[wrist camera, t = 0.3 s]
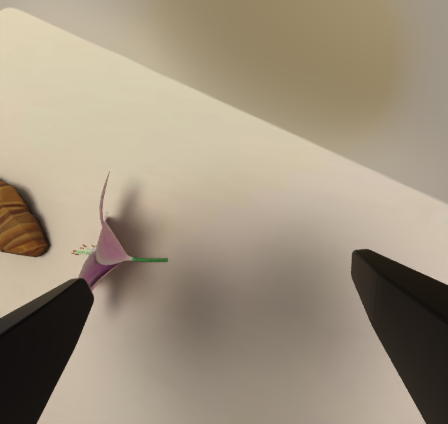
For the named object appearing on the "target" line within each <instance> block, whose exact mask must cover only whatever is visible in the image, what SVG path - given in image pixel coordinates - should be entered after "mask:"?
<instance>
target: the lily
mask: <svg viewBox="0 0 448 424" xmlns="http://www.w3.org/2000/svg"><path fill="white" fill-rule="evenodd" d="M109 173H110V172H109ZM108 177H109V174H108V176H107V179H106V182H105V185H104V188H103V191H102V195H101V200H100V220H101V224H102V230H101V233H100V236H99V240H98V244H97V245H96V246H93V245H91V246H93V249H92V251H90V250H91V249H89V248H87V246H85V245H83V246H84V247H85V248H87V249H89V250H86V249H84V248H80V249H83V250H86V251H90V252H83V251H76V250H73V252H79V253H72V254H75V255H79V254H80V253H87V254H83V255H89V257H88V258H87V260H86V261H85V263H84V265H83V267H82V270H81V272H80V274H79V277H78V278H84V279H85V280H86V281H87V283H88V285H89V287H90V289H91V291H93V289H94V288H95V286H96V285H97V284H98V283H99V282H100V280H101V279H102V278H104V277H105V276H106V275H107V274H108V273H109V272H110V271H111V270H113V269H114V268H115V267H117V266H118V265H119V264H121V263H122V262H124V261H127V260H129V261H142V262H167V261H168V259H146V258H136V257H130V256H129V255H127V254H126V252H125V251H124V249H123V248H122V246H121V244H120V243H119V241H118V240H117V238H116V237H115V235H114V233H113V232H112V230H111V229H110V227H109V226H108V224H107V222H106V220H107V214H108V212H106V213H105V222H104V221H103V213H102V207H103V198H104V194H105V189H106V185H107V181H108Z"/></svg>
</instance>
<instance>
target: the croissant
mask: <svg viewBox="0 0 448 424" xmlns="http://www.w3.org/2000/svg"><path fill="white" fill-rule="evenodd" d="M48 247H49V244H48V241H47V237H46V234H45V232H44V230H43V228H42V226H41V224H40V222H39V220H38V219H37V218H35V217H34V216H33V215H32V213H31V210H30V208H29V207H28V205H27V204H26V202H25V201H24V199H23V198H22V197H21V196H20V194H19V193H18V192H17V191H16V190H15V189H14V188H13V187H12V186H11V185H9V184H7V183H5V182H3V181H0V251H1V252H5V253H11V254H17V255H24V256H31V257H38V256H41V255H43V254H44V253H45V252H46V251H47V249H48Z"/></svg>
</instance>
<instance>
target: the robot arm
mask: <svg viewBox="0 0 448 424" xmlns="http://www.w3.org/2000/svg"><path fill="white" fill-rule="evenodd" d="M351 276H352V279H353V282H354V284H355V287H356V289H357V291H358V294H359V296H360V299H361V301H362V303H363V306H364V308H365V311H366V313H367V315H368V318H369V320H370V322H371V324H372V327H373V328H374V330H375V332H376V334H377V336H378V338H379V340H380V341H381V343H382V345H383V347H384V349H385V350H386V352H387V354H388V356H389V358H390V359H391V361H392V363H393V365H394V367H395V368H396V370H397V372H398V374H399V376H400V377H401V379H402V381H403V383H404V385H405V386H406V388H407V390H408V392H409V394H410V395H411V397H412V399H413V401H414V403H415V404H416V406H417V408H418V410H419V412H420V413H421V415H422V417H423V419H424V421H425V422H426V424H448V285H446V284H444V283H442V282H440V281H438V280H435V279H433V278H431V277H429V276H426V275H424V274H422V273H420V272H418V271H415V270H413V269H411V268H409V267H407V266H404V265H402V264H400V263H398V262H396V261H393V260H391V259H389V258H387V257H385V256H382V255H380V254H378V253H376V252H373V251H371V250H369V249H360V250H354V251H353V253H352V263H351ZM93 302H94V296H93V293H92V291H91V289H90V287H89V285H88V283H87V281H86V280H85V279H84V278H76V279H71V280H69V281H67V282H65V283H63V284H61V285H60V286H58V287H56V288H54V289H52V290H51V291H49V292H47V293H45V294H43V295H42V296H40V297H38V298H36V299H34V300H32V301H31V302H29V303H27V304H25V305H23V306H22V307H20V308H18V309H16V310H14V311H13V312H11V313H9V314H7V315H5V316H4V317H2V318H0V424H37V422H38V420H39V418H40V416H41V414H42V412H43V410H44V408H45V406H46V404H47V402H48V400H49V398H50V396H51V394H52V392H53V390H54V388H55V386H56V384H57V382H58V380H59V378H60V376H61V375H62V373H63V371H64V369H65V367H66V365H67V363H68V361H69V359H70V357H71V355H72V353H73V351H74V349H75V347H76V344H77V342H78V340H79V337H80V335H81V332H82V330H83V327H84V325H85V322H86V320H87V317H88V315H89V312H90V310H91V307H92V305H93Z"/></svg>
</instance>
